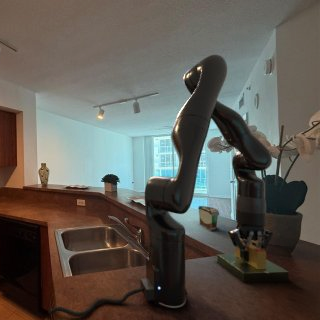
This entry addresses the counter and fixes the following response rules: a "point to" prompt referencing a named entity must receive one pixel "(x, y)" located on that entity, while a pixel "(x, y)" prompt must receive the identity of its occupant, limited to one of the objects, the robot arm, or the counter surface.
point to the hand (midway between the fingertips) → (249, 260)
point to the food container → (208, 217)
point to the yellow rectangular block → (255, 257)
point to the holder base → (252, 270)
